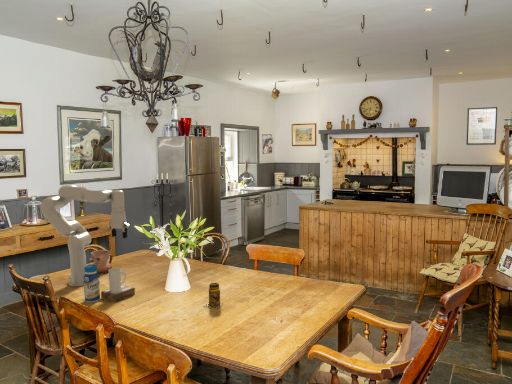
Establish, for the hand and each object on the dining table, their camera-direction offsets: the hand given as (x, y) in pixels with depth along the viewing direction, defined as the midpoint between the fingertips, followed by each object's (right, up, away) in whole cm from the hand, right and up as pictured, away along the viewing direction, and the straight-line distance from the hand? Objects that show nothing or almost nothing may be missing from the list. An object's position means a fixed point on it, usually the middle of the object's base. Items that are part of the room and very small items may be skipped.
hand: (119, 237), depth 268 cm
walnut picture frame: (+6, -32, -20) cm, 38 cm away
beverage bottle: (-7, -33, -26) cm, 43 cm away
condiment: (+62, -33, -36) cm, 79 cm away
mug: (+6, -28, -20) cm, 35 cm away
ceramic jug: (-23, -28, +33) cm, 49 cm away
